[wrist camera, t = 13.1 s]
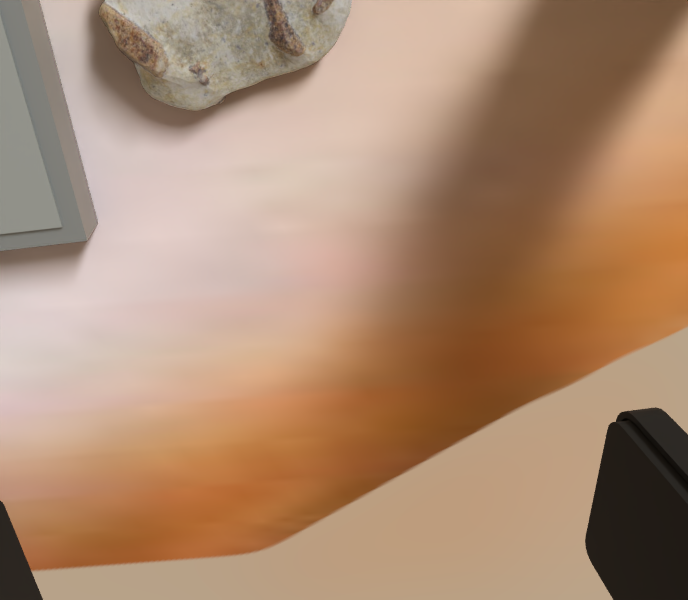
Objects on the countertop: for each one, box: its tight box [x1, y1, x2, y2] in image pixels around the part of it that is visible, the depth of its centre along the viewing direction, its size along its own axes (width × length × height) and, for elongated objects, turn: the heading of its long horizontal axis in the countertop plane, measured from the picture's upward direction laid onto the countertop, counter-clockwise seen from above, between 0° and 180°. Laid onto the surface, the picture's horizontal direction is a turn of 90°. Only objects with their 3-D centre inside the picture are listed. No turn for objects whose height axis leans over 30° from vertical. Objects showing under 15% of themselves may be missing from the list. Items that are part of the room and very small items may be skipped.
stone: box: [99, 0, 352, 111], centre depth 30 cm, size 12×9×3 cm
